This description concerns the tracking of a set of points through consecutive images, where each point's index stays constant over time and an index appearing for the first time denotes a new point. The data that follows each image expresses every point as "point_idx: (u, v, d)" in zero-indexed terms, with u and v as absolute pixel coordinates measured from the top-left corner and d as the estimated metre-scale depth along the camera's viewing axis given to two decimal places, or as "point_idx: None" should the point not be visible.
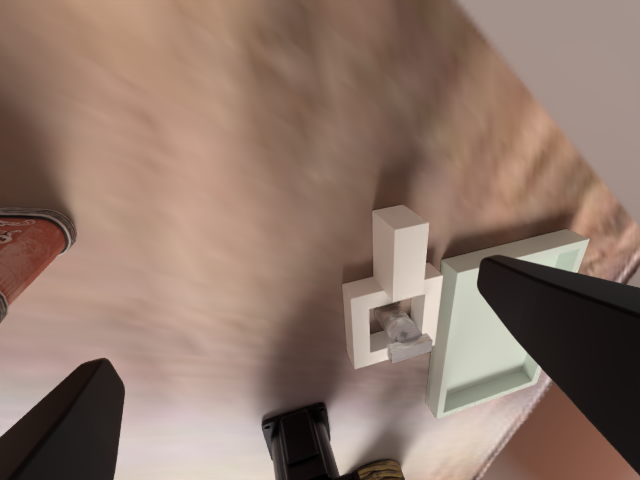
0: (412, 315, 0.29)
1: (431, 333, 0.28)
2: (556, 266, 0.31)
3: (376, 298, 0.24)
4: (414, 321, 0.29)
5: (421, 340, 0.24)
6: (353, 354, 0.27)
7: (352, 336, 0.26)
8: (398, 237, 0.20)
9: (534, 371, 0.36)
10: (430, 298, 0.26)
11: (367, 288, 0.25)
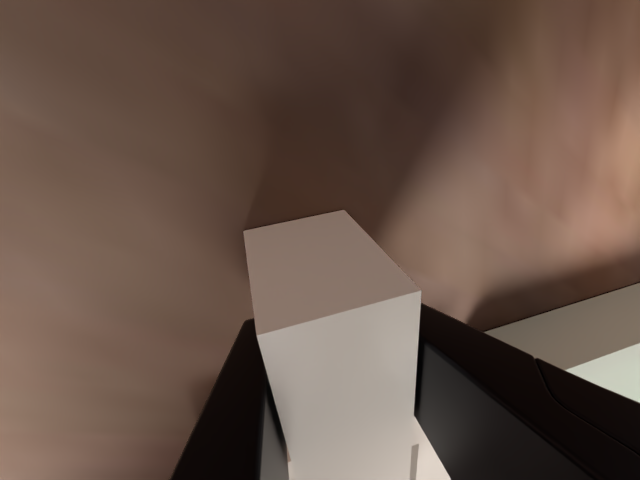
0: None
1: None
2: None
3: None
4: None
5: None
6: None
7: None
8: (285, 359, 0.05)
9: None
10: (432, 447, 0.10)
11: None
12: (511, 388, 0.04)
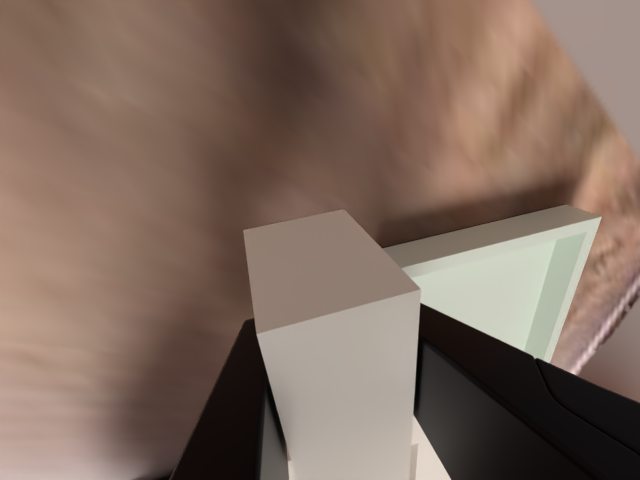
0: None
1: None
2: (552, 260, 0.21)
3: None
4: None
5: None
6: None
7: None
8: (285, 357, 0.05)
9: None
10: (432, 447, 0.10)
11: None
12: (511, 388, 0.04)
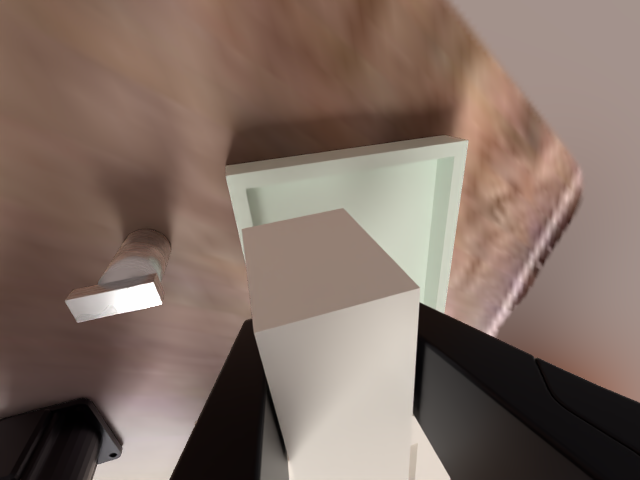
0: None
1: None
2: (435, 195, 0.20)
3: None
4: None
5: (134, 282, 0.13)
6: None
7: None
8: (283, 357, 0.04)
9: None
10: (431, 447, 0.10)
11: None
12: (511, 388, 0.04)
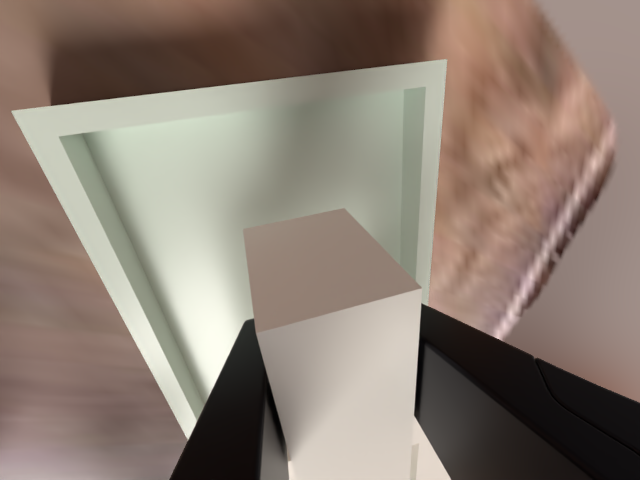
0: None
1: None
2: (403, 157, 0.14)
3: None
4: None
5: None
6: None
7: None
8: (284, 357, 0.04)
9: None
10: (432, 447, 0.10)
11: None
12: (511, 388, 0.04)
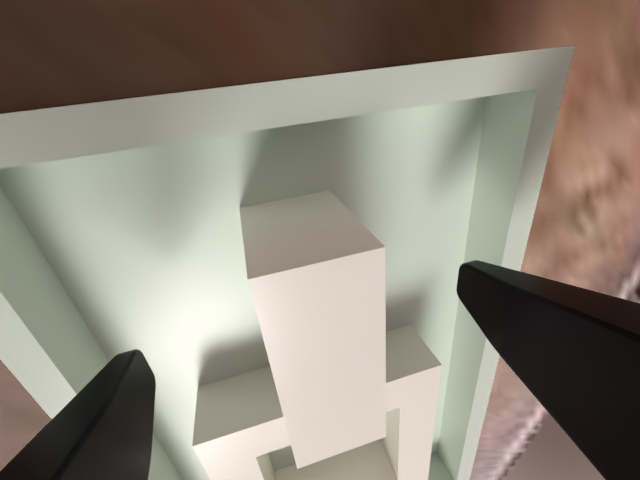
0: None
1: (419, 468, 0.13)
2: (476, 188, 0.10)
3: (270, 434, 0.09)
4: (384, 439, 0.14)
5: None
6: None
7: None
8: (272, 302, 0.05)
9: (458, 466, 0.15)
10: (412, 412, 0.11)
11: (248, 404, 0.10)
12: None
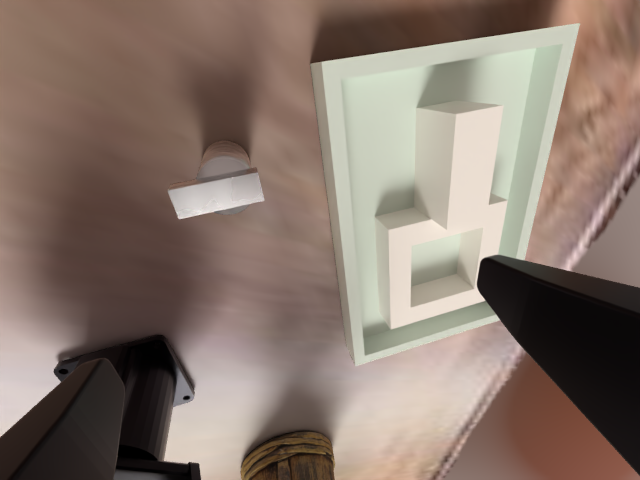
0: (460, 262, 0.23)
1: None
2: (527, 102, 0.18)
3: (421, 231, 0.18)
4: (463, 269, 0.23)
5: (237, 174, 0.12)
6: (389, 309, 0.21)
7: (388, 284, 0.20)
8: (461, 126, 0.14)
9: None
10: (489, 233, 0.20)
11: (408, 218, 0.19)
12: None
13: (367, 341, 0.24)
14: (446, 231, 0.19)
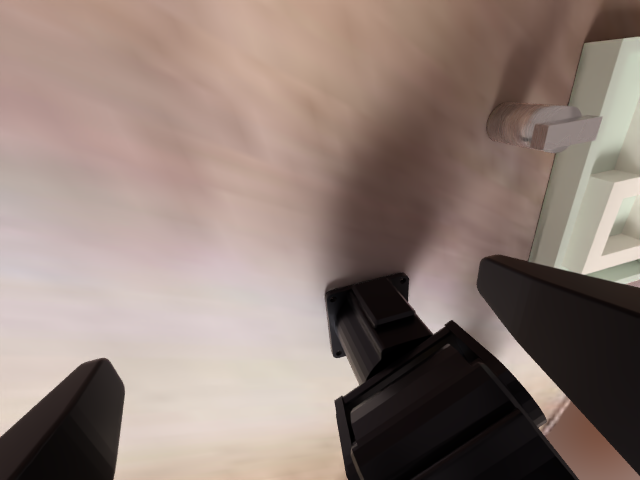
0: (630, 222, 0.27)
1: None
2: None
3: (634, 185, 0.22)
4: (633, 228, 0.27)
5: (585, 117, 0.16)
6: (585, 256, 0.25)
7: (594, 233, 0.24)
8: None
9: None
10: None
11: (621, 175, 0.23)
12: None
13: None
14: None
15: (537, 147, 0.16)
